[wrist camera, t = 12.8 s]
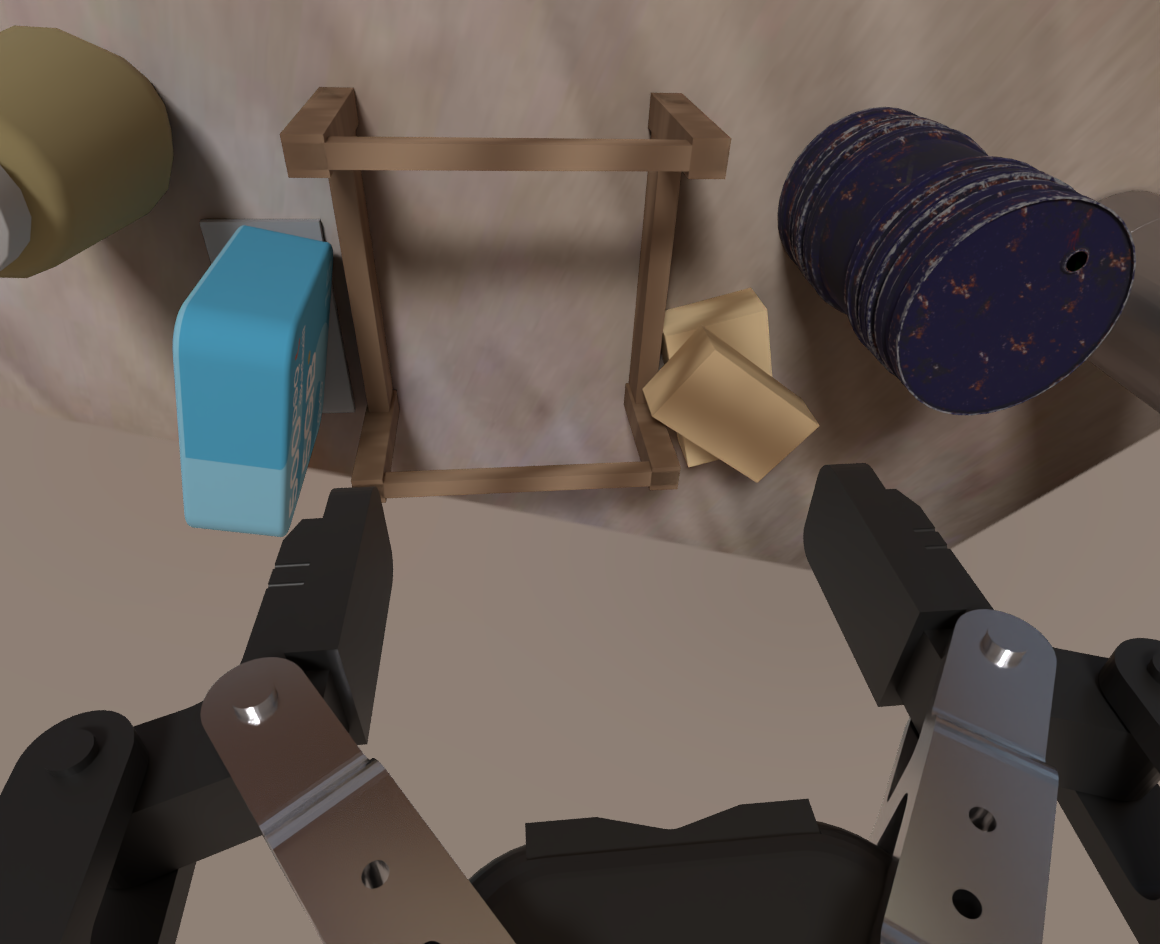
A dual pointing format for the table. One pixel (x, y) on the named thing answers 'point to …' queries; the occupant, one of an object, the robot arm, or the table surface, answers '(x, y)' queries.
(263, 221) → the mat
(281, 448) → the blue rounded block
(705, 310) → the offcut lower
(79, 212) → the squeeze bottle
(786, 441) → the offcut upper
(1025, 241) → the dark navy cylinder
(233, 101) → the table surface
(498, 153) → the frame
